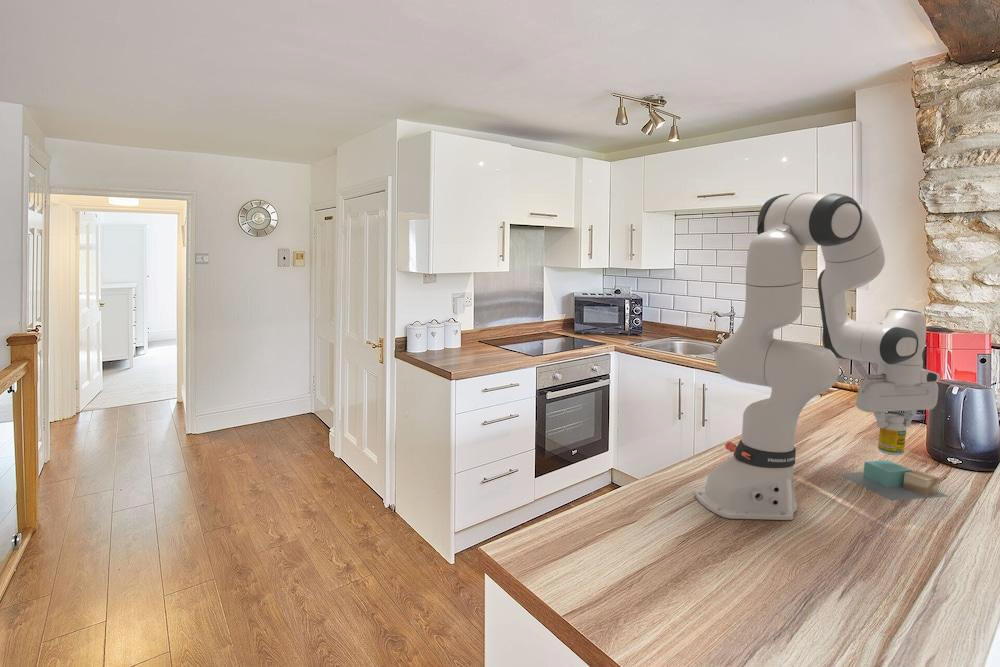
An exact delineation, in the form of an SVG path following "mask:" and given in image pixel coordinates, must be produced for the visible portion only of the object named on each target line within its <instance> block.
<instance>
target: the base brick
mask: <svg viewBox="0 0 1000 667" xmlns="http://www.w3.org/2000/svg"><path fill="white" fill-rule="evenodd" d="M910 471H914V470H913V469H911V468H908V467H905V466H903V465H900V464H899V463H896V462H893V461H891V460H888V459H884V460H869V461H864V465H863V472H864V473H863V476H864V477H866V478H868V479H870V480H872V481H875V482H877V483H879V484H881V485H883V486H885V487H898V486H903V483H904V474H905V473H906V472H910Z"/></svg>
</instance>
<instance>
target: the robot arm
mask: <svg viewBox="0 0 1000 667" xmlns="http://www.w3.org/2000/svg"><path fill="white" fill-rule="evenodd" d="M757 217H758V218H757V228H756V232H757V235H756V236H755V237H753V238H752V240H751V242H750V244H749V247H748V252H747V259H746V264H745V265H746V268H745V301H744V302H745V303H744V304H745V307H744V315H743V319H742V322H741V324H740V325H739V327H738V329H736V331H735V332H734V333H733V334H732V335H730V336H729V337H728V338H726V339H724V340H723V341H722V342H721V343H720V345H719V346H718V348H717V349H716V351H715V359H714V360H715V365H716V368H717V370H718V372H719V373H720V374H721V376H723V377H725V378H727V379H731V380H733V381H737V382H739V383H744V384H751V385H756V386H762V387H768V388H770V389H771V393H770V397H767V398H765V399H761V400H758V401H755V402H752V403H750V404H749V405H747V407H746V408H745V409H744V411H743V415H742V429H741V438H740V440H739V441H738V444H737V445H736V444H735V443H734V442H732V441H727V442H726V443H725V444H724V448H725V449H726V450H727V451H729V452H731V453H733V455H732V456H731V457H730V458H728V459H727V460H725V461H723V463H721V464H720V465H718V466H717V467H716V468H714V469H712V470H711V471H710V472H709V473H708V476H707V478H706V481H705V482H706V483H705V486H704V487H699V488H696V489H695V491H694V496H695V499H696V500H697V501H698V502H699V503H700V504H701V505H702V506H703V507H704V508H706V509H708V510H709V511H711V512H712V513H714V514H715V515H718V516H720V517H722V518H725V519H731V520H732V519H733V520H734V519H736V520H737V519H738V520H739V519H741V520H771V521H772V520H775V521H776V520H777V521H778V520H781V521H791V520H793V519H794V513H795V512H797V510H798V504H797V501H796V496H795V488H794V465H795V464H796V456H797V455H796V454H797V452H796V451H797V450H796V447H795V442H796V441H795V439H796V432H797V426H798V421H799V418H800V415H801V413H802V411H803V409H804V408H805V406H806V405H807V404H808V403H809V402H810V401H811V400H812V399H814V398H815V397H817V396H819V395H820V394H824V392H827V391H828V390H829V389H830V388H832V387H833V386H834V384H836V381H837V380H838V378H839V374H840V364H839V360H840V359H841V360H854V361H861V362H866V363H873V364H874V363H875V364H878V366H877V374H867V375H866V376H864V378H862V379H861V381H860V384H859V387H858V391H857V395H856V401H855V407H857V409H858V410H861V411H862V412H865V413H873V416H874V417H875V420H876V427H877V428H879V429H880V428H887V427H888V426H887V425H888V422H887V421H885V419H884V416H885V414H887V413H886V412H904V415H903V417H904V422H903V423H902V424H903V425H905V426H906V428H910V427H911V426H912V421H913V419H914V418H915V417H916V416H917V411H921V410H922V411H923V410H925V411H926V410H934V409H935V407H936V406H937V404H938V399H939V398H938V397H939V385H938V383H939V382H940V378H941V375H940V374H939V373H937V372H934V371H932V370H928V369H925V368H923V366H924V360H923V352H924V350H925V348H926V340H927V320H926V316H925V314H924V313H923V312H921V311H918V310H914V309H906V308H890V309H888V310H887V311H886V313H885V317H884V319H883V320H882V321H879V322H878V323H877V322H876V323H873V322H865V321H864V322H863V321H857V320H854V319H852V318H850V317H849V316H848V312H847V311H848V310H847V306H846V304H847V303H846V296H845V295H846V292H849V291H851V290H856V289H859V288H861V287H863V286H866V285H867V284H868V283H870V282H872V281H873V280H875V278H877V277H878V276H879V275H880V274H881V273H882V271H883V269H884V266H885V262H886V260H885V259H886V258H885V251H884V248H883V244H882V241H881V238H880V235H879V231H878V229H877V226H876V224H875V222H874V220H873V219H872V217H871V214H870V213H869V211H868V210H867V208H866V207H865V206H864V205H863V204H861V203H860V202H857V201H856V200H855V199H854V198H853V197H850V196H848V195H846V194H842V193H834V192H833V193H820V192H817V193H815V192H811V191H810V192H809V191H808V192H796V193H784V194H779V195H776V196H773V197H772V198H769V199H768V200H766V201H765V202H764V204H763V205H762V206H761V208H760V211H759V214H758V216H757ZM807 246H820V249H821V252H822V253H821V254H822V256H823V259H824V263H825V268H824V269H823V270H822V271H821V272H820V274H819V276H818V280H817V290H818V299H819V300H818V301H819V306H820V307H819V308H820V314H821V322H822V336H821V340H822V346H820V345H816V344H812V343H809V342H801V341H800V342H799V341H790V340H781V339H780V340H779V339H775V338H774V331H775V330H777V329H781V328H783V327H786V326H789V325H791V324H793V323H794V322H796V321H797V320H798V319H799V317H800V315H801V314H802V310H803V308H802V307H803V306H802V305H803V301H802V300H803V267H802V255H803V253H804V251H805V249H806V247H807ZM838 359H839V360H838Z"/></svg>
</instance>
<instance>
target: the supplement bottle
mask: <svg viewBox="0 0 1000 667" xmlns="http://www.w3.org/2000/svg"><path fill="white" fill-rule="evenodd" d="M883 416H884V419H885V421H887V422H888V425H887V426H888V427H887V428H879V435H878V441H877V442H878V444H877V449H878V451H879V452H881V453H882V454H886V455H890V456H902V455H904V452H905V445H906V444H905V443H906V438H907V437H906V436H907V427H906V426H905V425H903V424H902V423H903V422H904V415H902V414H901V415H900V414H894V413H886V414H885V415H883Z"/></svg>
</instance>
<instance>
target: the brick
mask: <svg viewBox="0 0 1000 667" xmlns="http://www.w3.org/2000/svg"><path fill="white" fill-rule="evenodd" d="M940 482H941V477H940V476H938V475H934V474H931V473H928V472H925V471H922V470H919V469H915V470H913V471H910V472H906V473H905V474H904V483H903V488H904V489H907V490H910V491H912V492H915V493H918V494H921V495H923V496H929V495H933V494H936V493H938V491H939V492H940Z"/></svg>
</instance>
